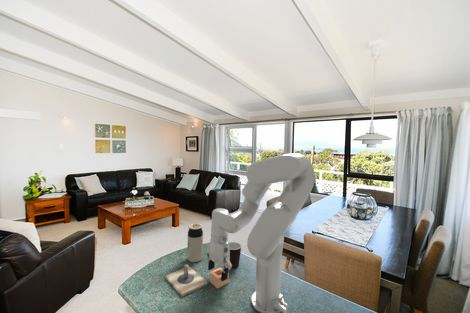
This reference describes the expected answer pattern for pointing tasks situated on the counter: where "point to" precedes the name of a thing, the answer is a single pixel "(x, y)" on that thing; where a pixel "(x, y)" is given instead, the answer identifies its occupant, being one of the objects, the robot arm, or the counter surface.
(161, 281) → the counter surface
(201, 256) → the travel mug
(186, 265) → the post stand
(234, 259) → the coffee mug
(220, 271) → the ring
